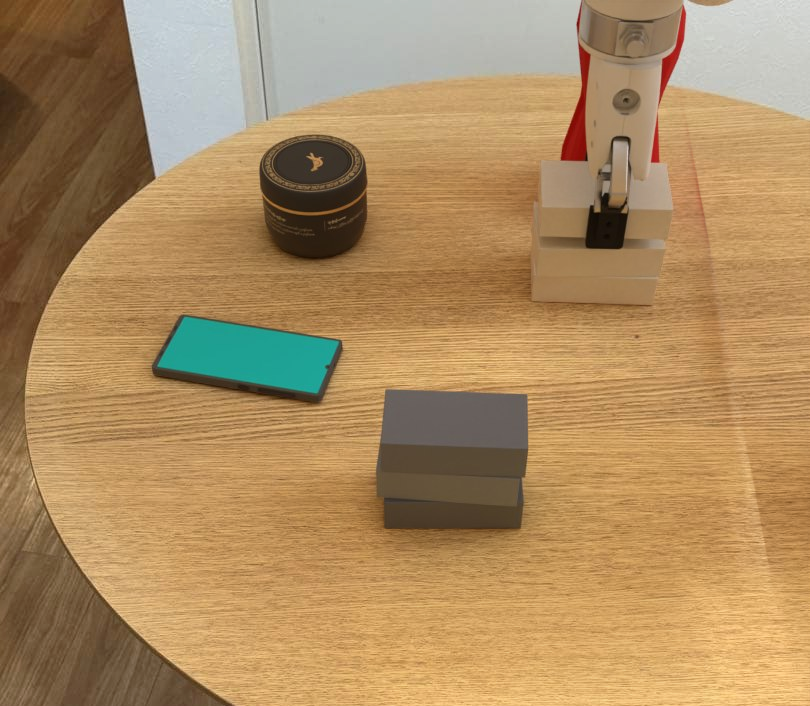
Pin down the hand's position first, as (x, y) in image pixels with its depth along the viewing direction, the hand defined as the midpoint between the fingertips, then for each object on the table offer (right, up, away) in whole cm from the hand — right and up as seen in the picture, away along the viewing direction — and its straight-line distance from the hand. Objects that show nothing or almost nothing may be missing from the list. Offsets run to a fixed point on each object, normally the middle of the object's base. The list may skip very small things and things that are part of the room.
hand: (601, 218), depth 102 cm
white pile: (0, -4, +5) cm, 7 cm away
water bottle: (+3, +6, +14) cm, 16 cm away
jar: (-26, +1, +10) cm, 28 cm away
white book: (0, 0, 0) cm, 0 cm away
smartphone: (-31, -13, -2) cm, 33 cm away
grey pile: (-14, -25, -12) cm, 31 cm away
